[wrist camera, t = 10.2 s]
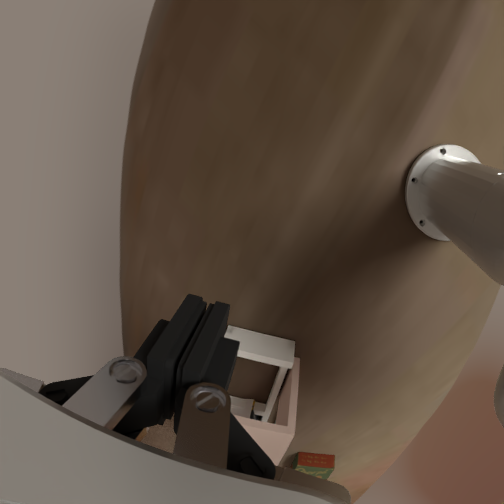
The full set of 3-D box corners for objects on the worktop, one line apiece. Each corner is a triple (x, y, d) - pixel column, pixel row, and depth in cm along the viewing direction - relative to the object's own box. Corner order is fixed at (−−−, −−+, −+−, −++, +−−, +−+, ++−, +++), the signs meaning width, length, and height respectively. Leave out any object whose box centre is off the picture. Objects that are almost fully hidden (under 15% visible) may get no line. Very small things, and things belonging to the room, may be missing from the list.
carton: (282, 480, 64) (280, 494, 60) (297, 449, 58) (296, 465, 54) (315, 484, 63) (314, 498, 59) (335, 453, 57) (335, 469, 53)
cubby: (300, 358, 48) (294, 435, 34) (285, 395, 51) (276, 467, 37) (215, 337, 49) (185, 408, 35) (208, 376, 52) (182, 444, 38)
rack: (295, 341, 47) (293, 362, 42) (259, 436, 57) (255, 455, 52) (228, 324, 47) (220, 345, 43) (209, 424, 57) (203, 442, 53)
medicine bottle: (261, 421, 55) (251, 472, 44) (225, 421, 57) (210, 469, 46) (255, 397, 53) (243, 451, 42) (216, 397, 54) (199, 448, 43)
